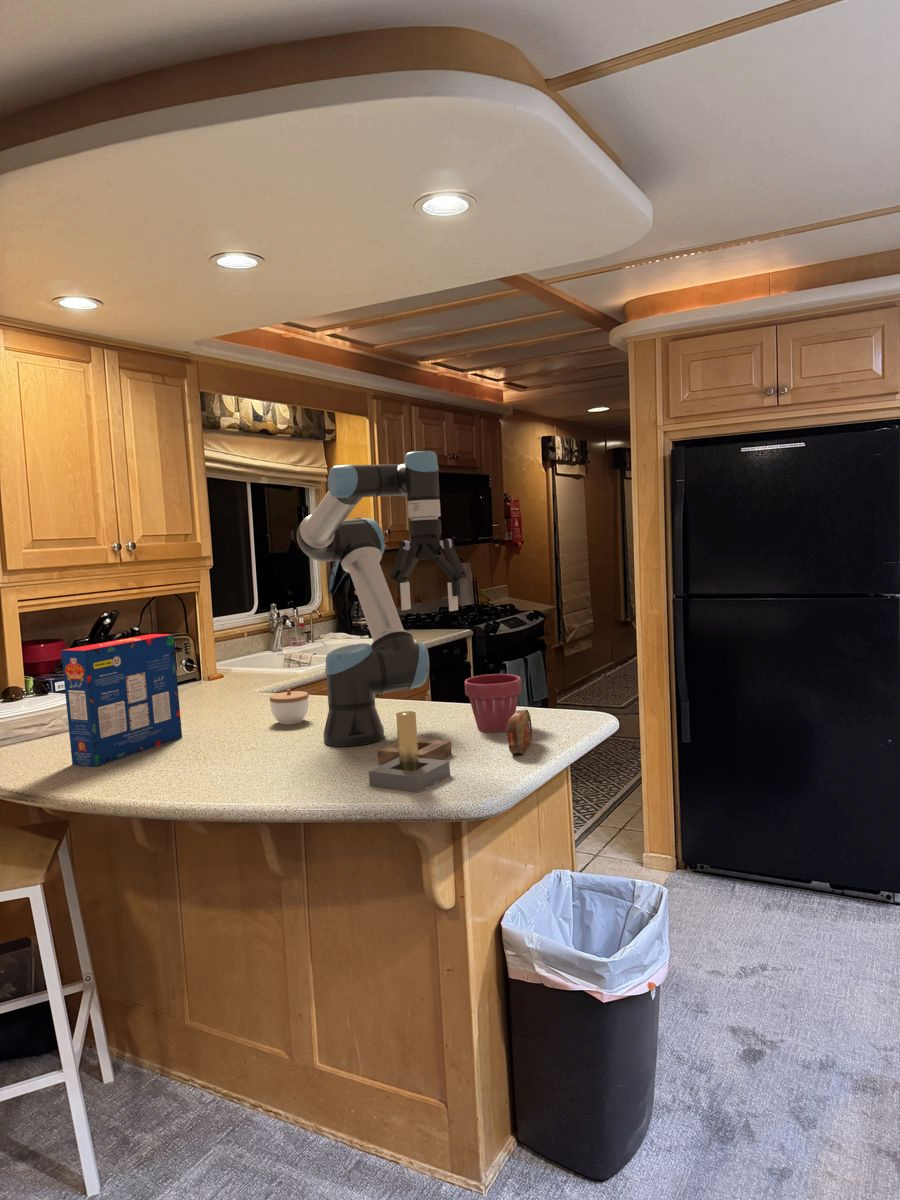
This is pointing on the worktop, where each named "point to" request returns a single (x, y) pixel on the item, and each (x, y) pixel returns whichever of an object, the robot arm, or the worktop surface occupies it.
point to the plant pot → (493, 699)
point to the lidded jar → (289, 706)
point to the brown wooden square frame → (425, 750)
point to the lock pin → (407, 741)
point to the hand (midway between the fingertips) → (429, 610)
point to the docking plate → (409, 775)
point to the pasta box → (121, 698)
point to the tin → (519, 732)
